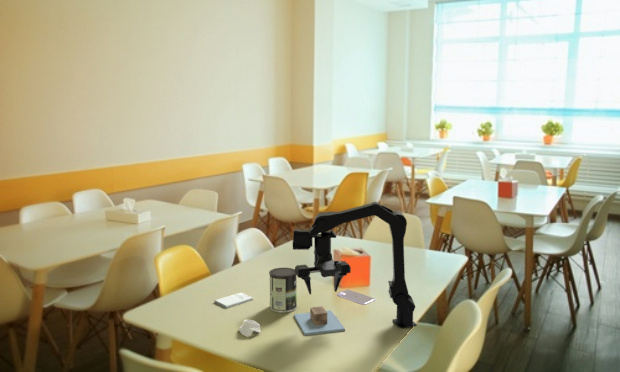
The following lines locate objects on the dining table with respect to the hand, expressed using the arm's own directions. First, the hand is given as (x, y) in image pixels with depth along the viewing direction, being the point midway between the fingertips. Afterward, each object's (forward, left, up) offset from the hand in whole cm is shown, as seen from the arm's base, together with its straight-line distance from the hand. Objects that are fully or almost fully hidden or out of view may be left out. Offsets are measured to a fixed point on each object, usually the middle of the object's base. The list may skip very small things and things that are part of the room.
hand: (322, 292), depth 181 cm
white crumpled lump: (-1, +26, -11) cm, 28 cm away
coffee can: (+17, +11, -11) cm, 23 cm away
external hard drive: (+27, +28, -12) cm, 41 cm away
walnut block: (0, +2, -10) cm, 10 cm away
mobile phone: (+19, -19, -11) cm, 29 cm away
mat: (0, +2, -11) cm, 11 cm away
